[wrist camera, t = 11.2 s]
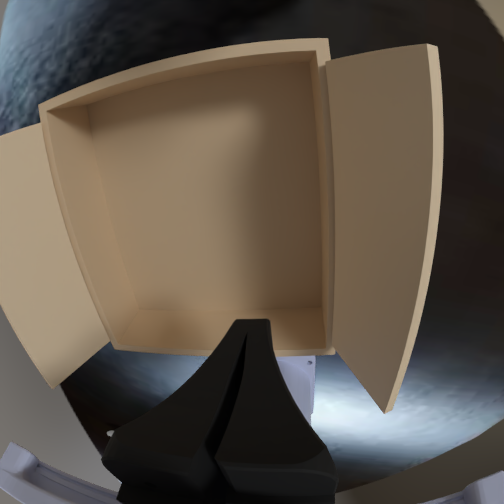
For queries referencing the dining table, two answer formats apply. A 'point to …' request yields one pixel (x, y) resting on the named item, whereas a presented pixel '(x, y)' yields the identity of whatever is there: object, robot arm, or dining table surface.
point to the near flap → (384, 206)
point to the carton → (203, 196)
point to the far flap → (41, 264)
